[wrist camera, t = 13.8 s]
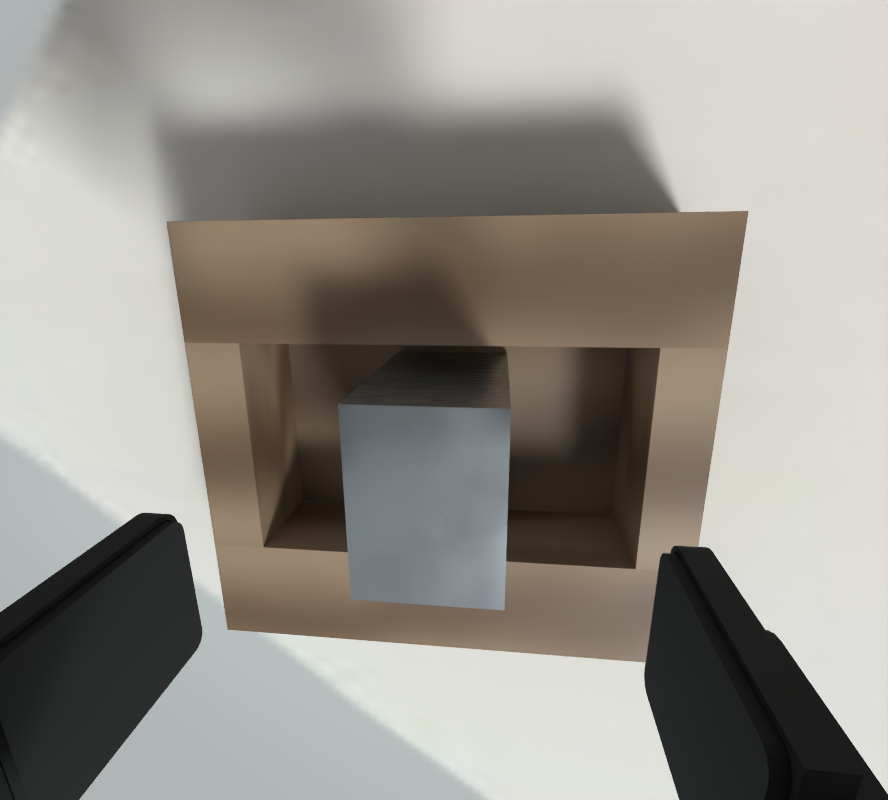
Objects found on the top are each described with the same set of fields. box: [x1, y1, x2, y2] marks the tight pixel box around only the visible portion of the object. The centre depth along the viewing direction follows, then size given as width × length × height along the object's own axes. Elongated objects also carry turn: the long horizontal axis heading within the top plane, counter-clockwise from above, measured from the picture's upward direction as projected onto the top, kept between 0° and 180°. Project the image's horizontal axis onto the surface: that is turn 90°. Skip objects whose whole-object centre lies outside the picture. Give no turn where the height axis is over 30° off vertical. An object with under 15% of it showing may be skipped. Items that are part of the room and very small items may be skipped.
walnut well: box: [167, 211, 748, 662], centre depth 20 cm, size 16×18×5 cm
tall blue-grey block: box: [338, 351, 511, 610], centre depth 17 cm, size 6×4×8 cm
